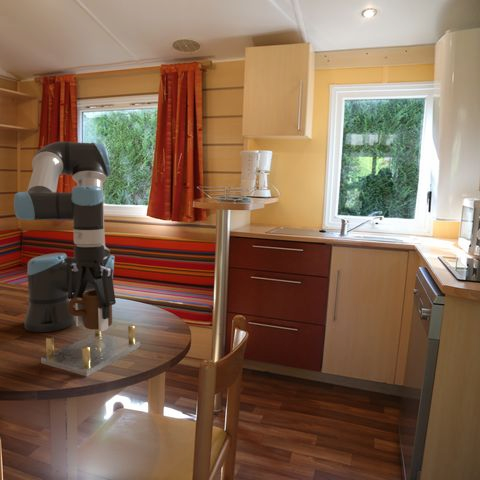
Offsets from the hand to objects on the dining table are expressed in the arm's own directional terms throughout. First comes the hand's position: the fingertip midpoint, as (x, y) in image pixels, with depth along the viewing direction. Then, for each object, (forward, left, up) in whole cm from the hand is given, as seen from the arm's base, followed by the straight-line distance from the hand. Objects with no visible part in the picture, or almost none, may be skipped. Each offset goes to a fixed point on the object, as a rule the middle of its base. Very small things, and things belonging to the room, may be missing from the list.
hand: (92, 327), depth 108 cm
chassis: (0, 0, -8) cm, 8 cm away
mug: (-1, 0, 0) cm, 1 cm away
